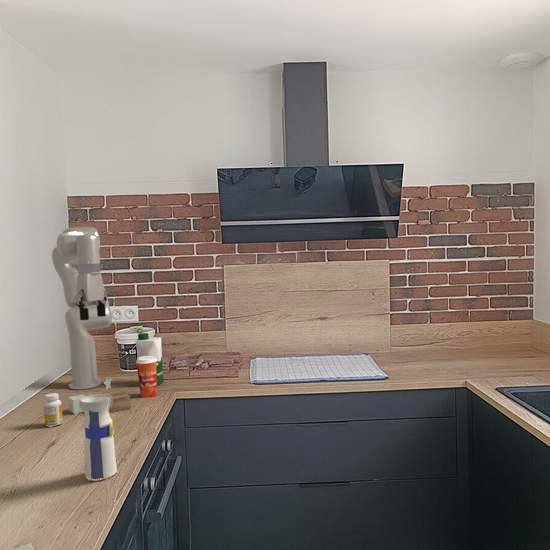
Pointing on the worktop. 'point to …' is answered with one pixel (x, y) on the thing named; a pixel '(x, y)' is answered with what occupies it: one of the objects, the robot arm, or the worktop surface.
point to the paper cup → (147, 375)
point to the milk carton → (151, 352)
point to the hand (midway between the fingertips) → (93, 318)
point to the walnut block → (119, 401)
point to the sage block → (75, 403)
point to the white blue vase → (98, 435)
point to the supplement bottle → (53, 409)
